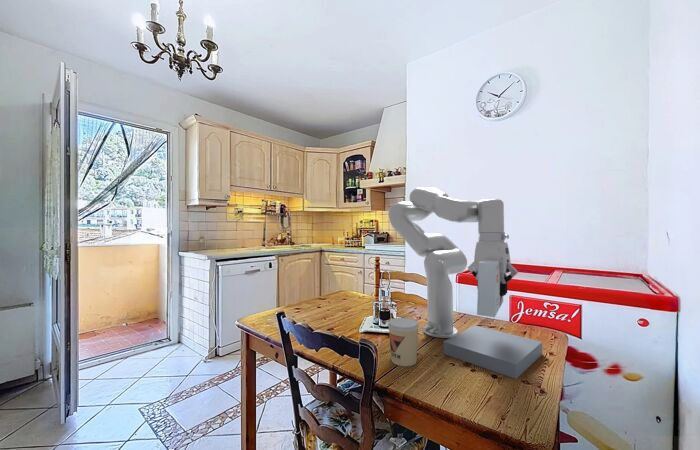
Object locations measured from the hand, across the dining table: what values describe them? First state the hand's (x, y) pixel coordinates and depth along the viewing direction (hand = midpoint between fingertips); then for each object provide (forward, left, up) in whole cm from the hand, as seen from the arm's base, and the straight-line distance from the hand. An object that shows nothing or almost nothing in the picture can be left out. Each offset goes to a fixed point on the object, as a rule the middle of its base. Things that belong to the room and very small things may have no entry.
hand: (491, 293), depth 98 cm
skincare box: (0, 0, -5) cm, 5 cm away
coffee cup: (-24, +17, -20) cm, 36 cm away
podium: (0, 0, -20) cm, 20 cm away
